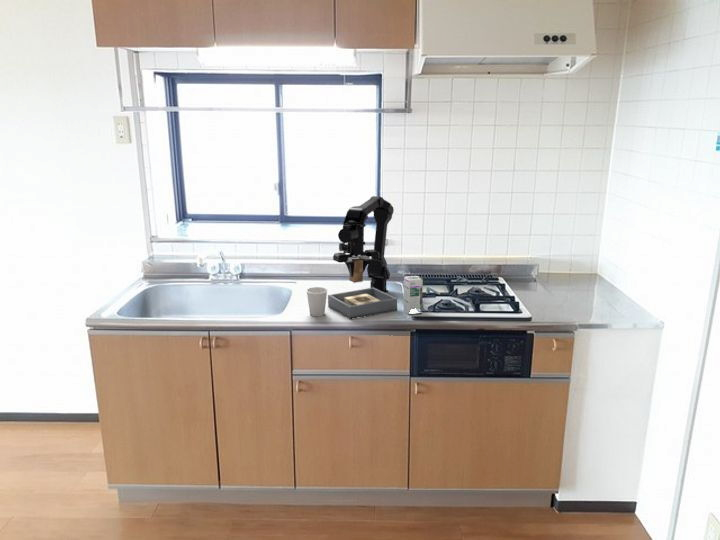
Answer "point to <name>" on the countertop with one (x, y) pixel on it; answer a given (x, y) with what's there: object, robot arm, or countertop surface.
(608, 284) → the countertop surface
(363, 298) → the birch bore plate
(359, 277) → the walnut peg
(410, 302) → the syrup box
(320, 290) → the dixie cup
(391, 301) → the charcoal tray
